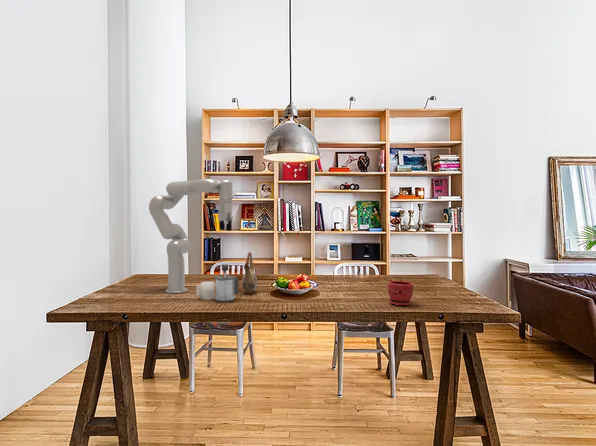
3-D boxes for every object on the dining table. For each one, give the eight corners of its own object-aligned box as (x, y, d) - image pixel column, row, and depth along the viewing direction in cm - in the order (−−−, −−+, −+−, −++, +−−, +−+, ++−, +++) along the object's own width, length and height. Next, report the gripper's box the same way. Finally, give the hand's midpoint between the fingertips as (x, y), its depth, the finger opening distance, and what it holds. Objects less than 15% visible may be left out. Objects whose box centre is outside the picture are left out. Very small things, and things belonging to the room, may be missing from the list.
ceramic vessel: (253, 296, 232) (253, 253, 231) (238, 295, 233) (238, 253, 232) (260, 290, 248) (260, 250, 247) (246, 290, 249) (246, 250, 248)
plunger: (217, 293, 223) (217, 264, 222) (227, 292, 227) (227, 263, 226) (222, 296, 217) (222, 265, 217) (233, 294, 221) (233, 265, 221)
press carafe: (213, 299, 223) (213, 276, 223) (233, 296, 231) (233, 274, 230) (220, 302, 215) (220, 279, 215) (241, 299, 223) (241, 277, 222)
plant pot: (408, 308, 206) (409, 285, 206) (384, 305, 213) (384, 282, 213) (415, 303, 217) (416, 281, 217) (392, 300, 224) (392, 279, 224)
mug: (194, 298, 226) (194, 282, 226) (211, 296, 232) (211, 280, 232) (199, 301, 220) (199, 284, 219) (216, 298, 226) (216, 282, 225)
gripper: (213, 201, 241) (213, 229, 242) (225, 201, 227) (225, 231, 228) (225, 201, 245) (225, 229, 246) (237, 201, 231) (237, 231, 232)
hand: (225, 230), depth 237 cm, fingers open, 9 cm apart
